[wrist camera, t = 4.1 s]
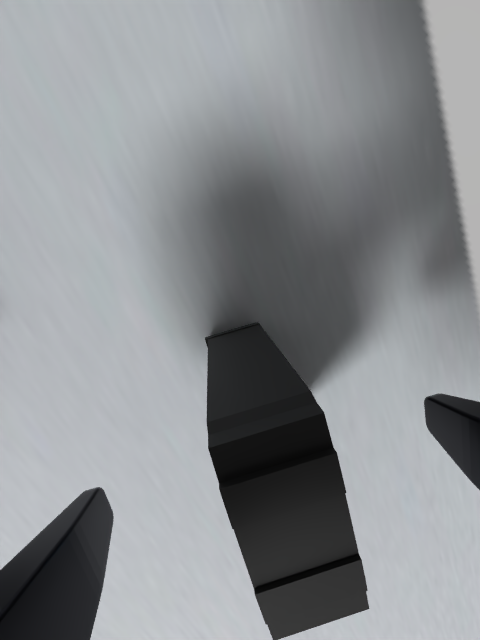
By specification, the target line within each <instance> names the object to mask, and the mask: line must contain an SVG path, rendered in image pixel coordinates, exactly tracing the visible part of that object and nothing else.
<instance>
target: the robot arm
mask: <svg viewBox="0 0 480 640" xmlns="http://www.w3.org/2000/svg"><path fill="white" fill-rule="evenodd" d="M424 407H425V418H426V425H427V428H428V430H429V431H430V433H431V434H432V435H433V436H434V437H435V439H436V440H437V441H438V442H439V444H440V445H441V446H442V447H443V448H444V450H445V451H446V452H447V453H448V454H449V456H450V457H451V458H452V459H453V460H454V462H455V463H456V464H457V465H458V466H459V468H460V469H461V470H462V471H463V472H464V474H465V475H466V476H467V477H468V478H469V479H470V480H471V482H472V483H473V484H474V485H475V486H476V487H477V488H478V489H479V490H480V402H477V401H473V400H468V399H463V398H459V397H454V396H450V395H445V394H435V395H432V396H428V397H426V398H425V400H424ZM112 526H113V511H112V509H111V506H110V504H109V501H108V499H107V497H106V494H105V492H104V490H103V489H102V488H100V487H97V488H93V489H90V490H86V491H84V492H83V493H82V494H81V495H80V496H79V497H78V498H76V499H75V500H74V501H73V502H72V503H71V504H70V505H69V506H68V507H67V508H66V509H65V510H64V511H63V512H62V513H61V514H59V515H58V516H57V517H56V518H55V519H54V520H53V521H52V522H51V523H50V524H49V525H48V526H47V527H46V528H45V529H44V530H43V531H41V532H40V533H39V534H38V535H37V536H36V537H35V538H34V539H33V540H32V541H31V542H30V543H29V544H28V545H27V546H26V547H24V548H23V549H22V550H21V551H20V552H19V553H18V554H17V555H16V556H15V557H14V558H13V559H12V560H11V561H10V562H9V563H7V564H6V565H5V566H4V567H3V568H2V569H1V570H0V640H90V637H91V633H92V629H93V625H94V621H95V617H96V613H97V609H98V605H99V601H100V597H101V593H102V588H103V583H104V577H105V571H106V564H107V558H108V552H109V545H110V539H111V533H112Z"/></svg>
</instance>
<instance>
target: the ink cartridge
mask: <svg viewBox="0 0 480 640" xmlns="http://www.w3.org/2000/svg"><path fill="white" fill-rule="evenodd" d="M205 341H206V344H207V347H208V378H207V428H208V449H209V452H210V455H211V458H212V462H213V465H214V468H215V471H216V475H217V478H218V481H219V490H220V493H221V496H222V499H223V502H224V505H225V508H226V511H227V514H228V517H229V520H230V523H231V526H232V529H234V532H235V534H236V537H237V540H238V543H239V546H240V549H241V552H242V555H243V558H244V561H245V564H246V567H247V569H248V572H249V575H250V578H251V581H252V584H253V587H254V591H255V596H256V599H257V602H258V604H259V607H260V610H261V613H262V615H263V618H264V621H265V624H267V625H268V627H269V630H270V633H271V635H272V638H273V640H278V639H281V638H284V637H287V636H290V635H293V634H296V633H299V632H302V631H305V630H308V629H311V628H314V627H317V626H320V625H323V624H326V623H329V622H331V621H334V620H337V619H340V618H343V617H346V616H349V615H352V614H355V613H358V612H361V611H364V610H367V609H369V605H368V600H367V595H366V591H368V590H367V585H366V580H365V575H364V570H363V565H362V560H361V558H360V556H359V553H358V549H357V544H356V540H355V535H354V531H353V526H352V522H351V517H350V513H349V508H348V504H347V500H346V495H345V493H346V490H345V485H344V481H343V477H342V473H341V468H340V464H339V460H338V456H337V452H336V451H335V449H334V448H333V444H332V441H331V437H330V433H329V429H328V426H327V422H326V418H325V414H324V412H323V411H322V409H321V408H320V406H319V405H318V404H317V402H316V400H315V399H314V397H313V395H312V393H311V391H310V390H309V388H308V387H307V386H306V384H305V383H304V382H303V381H302V379H301V378H300V377H299V375H298V374H297V373H296V371H295V370H294V369H293V367H292V366H291V365H290V364H289V362H288V361H287V360H286V358H285V357H284V356H283V354H282V353H281V352H280V350H279V349H278V348H277V347H276V345H275V344H274V343H273V341H272V340H271V339H270V337H269V336H268V335H267V334H266V332H265V331H264V330H263V328H262V327H261V326H260V324H259V323H258V322H257V323H253V324H250V325H247V326H243V327H240V328H236V329H233V330H229V331H226V332H222V333H219V334H216V335H212V336H209V337H205Z"/></svg>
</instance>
